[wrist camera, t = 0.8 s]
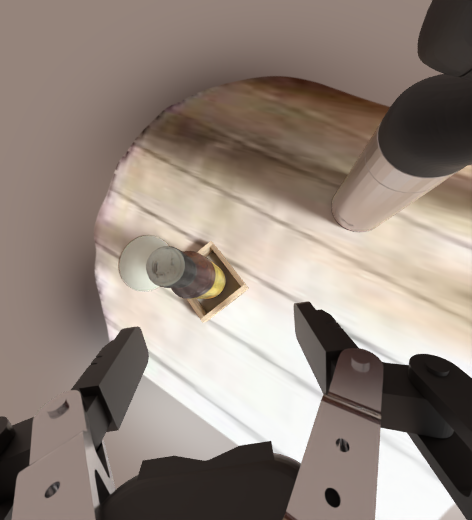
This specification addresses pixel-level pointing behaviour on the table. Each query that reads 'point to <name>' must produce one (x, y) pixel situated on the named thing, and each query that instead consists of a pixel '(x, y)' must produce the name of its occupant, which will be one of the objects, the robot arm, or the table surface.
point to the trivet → (139, 262)
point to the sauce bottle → (185, 273)
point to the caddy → (205, 317)
